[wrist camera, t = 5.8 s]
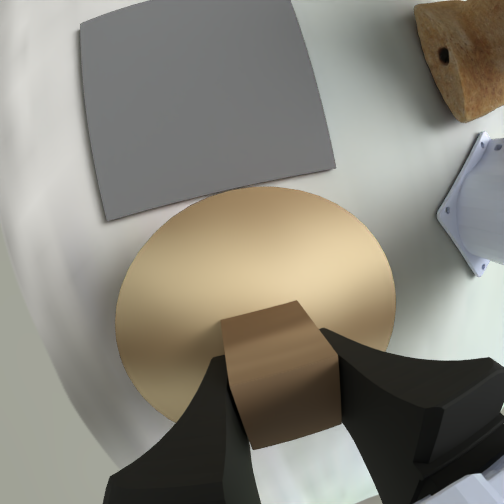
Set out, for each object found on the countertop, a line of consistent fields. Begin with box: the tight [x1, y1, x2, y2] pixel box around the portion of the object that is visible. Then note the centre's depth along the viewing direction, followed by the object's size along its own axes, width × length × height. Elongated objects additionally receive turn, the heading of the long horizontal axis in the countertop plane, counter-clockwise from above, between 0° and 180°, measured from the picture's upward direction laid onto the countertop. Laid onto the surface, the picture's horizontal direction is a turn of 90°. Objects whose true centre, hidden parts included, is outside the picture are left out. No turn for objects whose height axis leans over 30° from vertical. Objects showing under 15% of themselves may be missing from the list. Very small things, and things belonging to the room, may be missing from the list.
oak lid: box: [115, 187, 396, 450], centre depth 10 cm, size 12×12×5 cm
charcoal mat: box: [80, 0, 336, 221], centre depth 14 cm, size 13×13×1 cm
